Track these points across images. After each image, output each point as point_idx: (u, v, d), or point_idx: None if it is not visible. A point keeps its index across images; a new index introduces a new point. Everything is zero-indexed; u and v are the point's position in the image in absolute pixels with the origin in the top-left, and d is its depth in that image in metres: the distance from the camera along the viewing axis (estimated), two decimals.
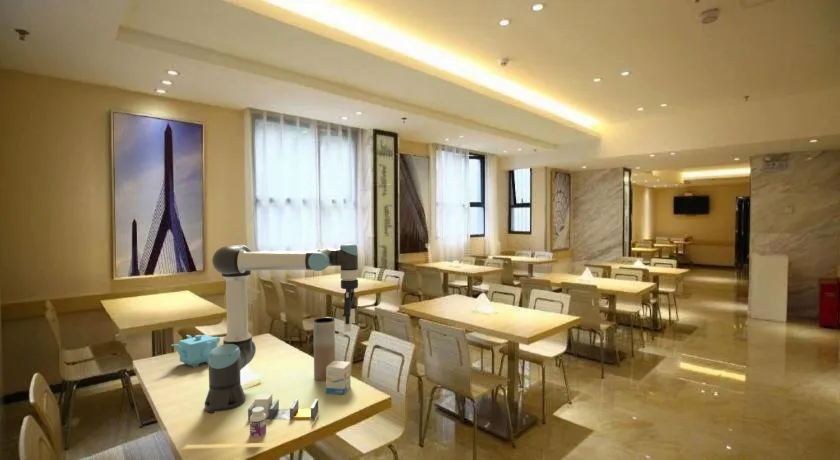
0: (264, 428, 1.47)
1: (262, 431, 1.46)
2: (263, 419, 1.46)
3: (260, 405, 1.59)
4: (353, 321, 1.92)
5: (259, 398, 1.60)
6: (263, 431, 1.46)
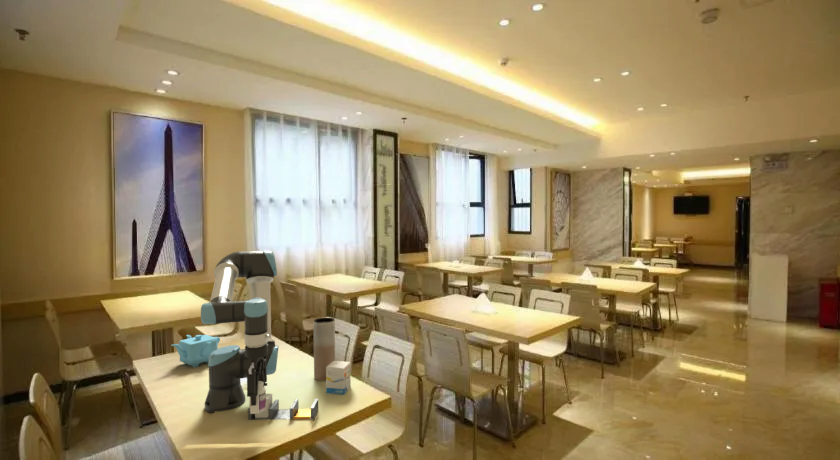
0: (264, 402, 1.47)
1: (261, 405, 1.46)
2: (263, 393, 1.46)
3: None
4: None
5: None
6: (263, 404, 1.47)
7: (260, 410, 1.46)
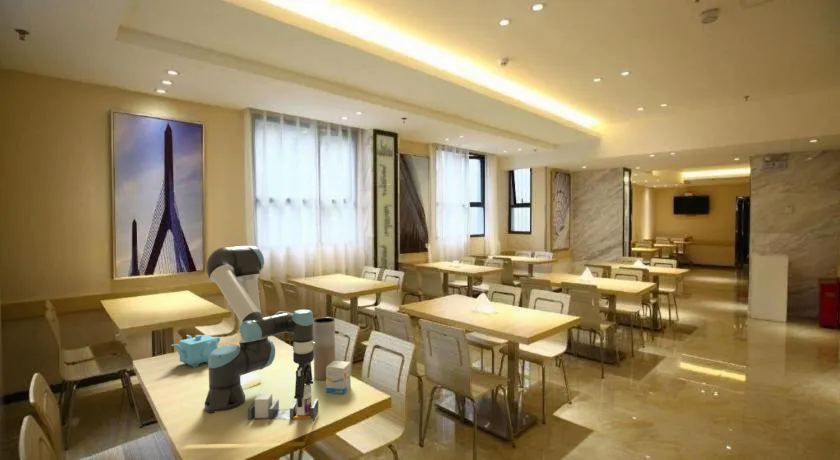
0: (310, 406, 1.61)
1: (308, 409, 1.60)
2: (309, 397, 1.61)
3: (260, 405, 1.59)
4: None
5: (259, 398, 1.60)
6: (309, 408, 1.61)
7: (307, 413, 1.60)
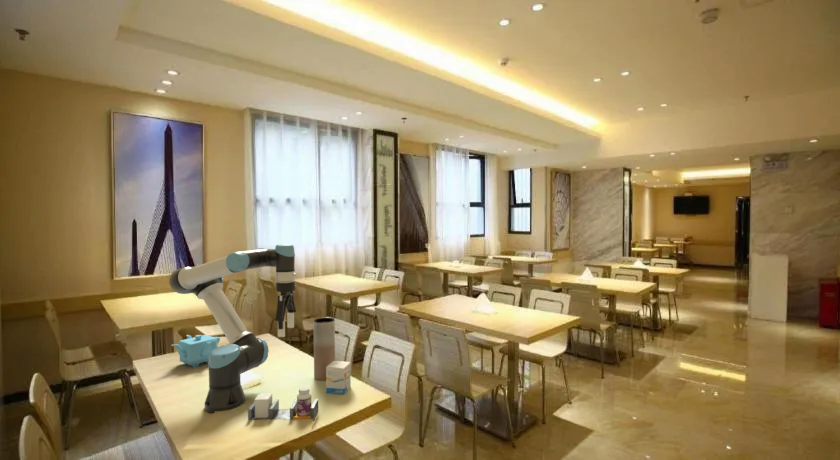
0: (310, 406, 1.61)
1: (308, 409, 1.60)
2: (309, 397, 1.61)
3: (260, 405, 1.59)
4: (292, 326, 1.82)
5: (259, 398, 1.60)
6: (309, 408, 1.61)
7: (307, 413, 1.60)
